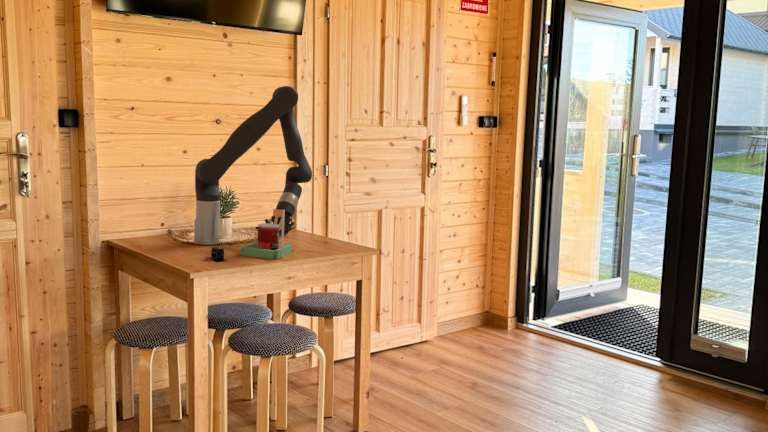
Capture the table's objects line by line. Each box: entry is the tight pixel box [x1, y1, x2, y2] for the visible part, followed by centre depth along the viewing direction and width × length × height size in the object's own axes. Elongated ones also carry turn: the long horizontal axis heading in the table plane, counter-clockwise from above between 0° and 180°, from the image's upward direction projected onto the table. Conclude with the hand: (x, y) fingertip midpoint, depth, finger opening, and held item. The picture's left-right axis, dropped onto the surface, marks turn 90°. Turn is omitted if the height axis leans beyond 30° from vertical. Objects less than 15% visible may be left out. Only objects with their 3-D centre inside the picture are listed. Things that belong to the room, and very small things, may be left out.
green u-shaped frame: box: [240, 208, 293, 260], centre depth 268 cm, size 16×14×18 cm
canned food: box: [257, 222, 280, 250], centre depth 269 cm, size 8×8×11 cm
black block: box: [204, 246, 229, 263], centre depth 256 cm, size 12×7×5 cm, turn 40°
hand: (272, 241), depth 273 cm, fingers closed
